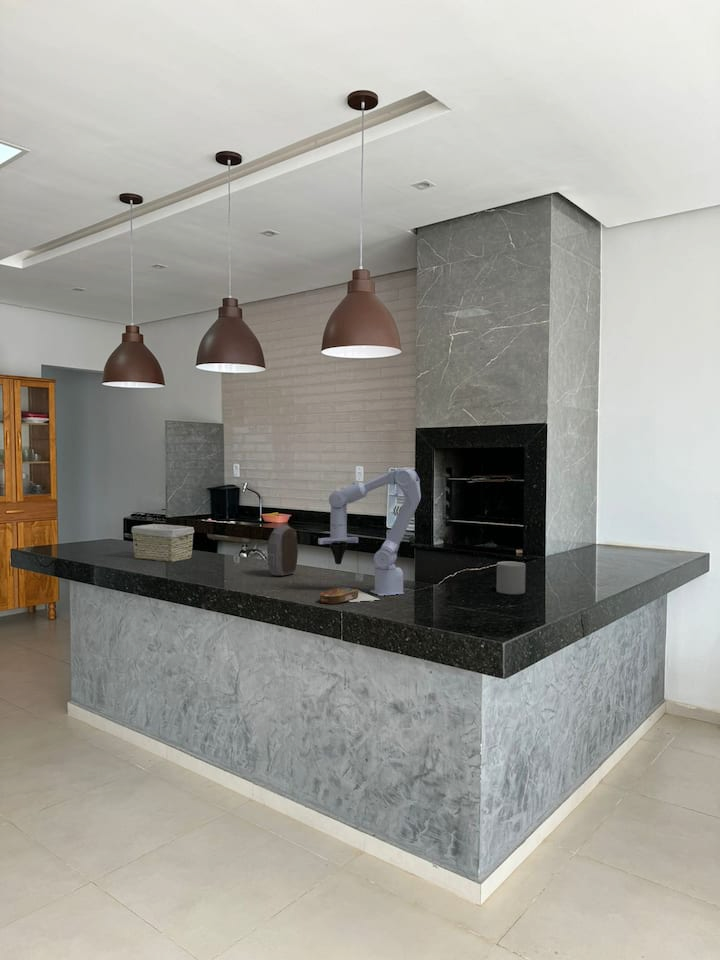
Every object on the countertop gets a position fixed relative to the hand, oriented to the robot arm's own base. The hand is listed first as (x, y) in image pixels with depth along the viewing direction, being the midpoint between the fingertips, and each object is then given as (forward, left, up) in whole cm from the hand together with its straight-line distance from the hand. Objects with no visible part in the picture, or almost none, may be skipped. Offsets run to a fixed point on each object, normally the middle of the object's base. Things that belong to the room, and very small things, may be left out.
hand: (338, 563), depth 248 cm
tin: (+8, +12, -8) cm, 16 cm away
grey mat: (-1, +11, -9) cm, 14 cm away
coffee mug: (-58, +23, -10) cm, 63 cm away
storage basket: (+43, -99, -10) cm, 108 cm away
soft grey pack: (+8, -38, -10) cm, 40 cm away
